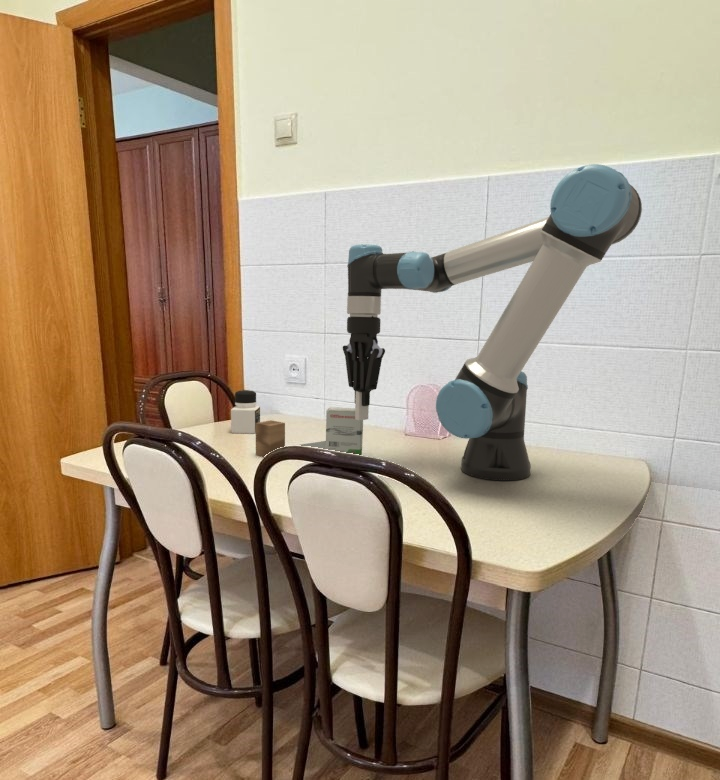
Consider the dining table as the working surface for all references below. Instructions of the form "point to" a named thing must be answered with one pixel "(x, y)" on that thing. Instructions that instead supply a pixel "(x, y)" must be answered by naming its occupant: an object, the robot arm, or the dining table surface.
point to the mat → (316, 444)
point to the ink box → (343, 430)
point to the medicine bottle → (245, 412)
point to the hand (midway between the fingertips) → (361, 419)
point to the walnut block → (269, 436)
